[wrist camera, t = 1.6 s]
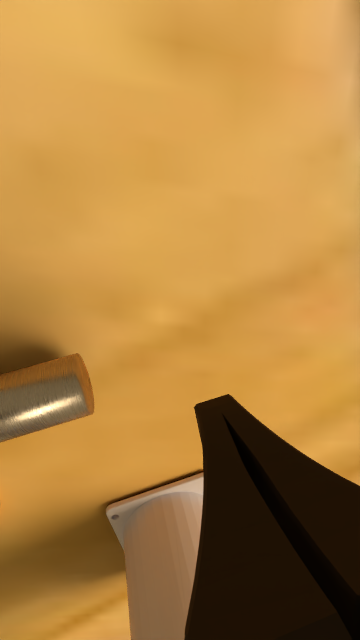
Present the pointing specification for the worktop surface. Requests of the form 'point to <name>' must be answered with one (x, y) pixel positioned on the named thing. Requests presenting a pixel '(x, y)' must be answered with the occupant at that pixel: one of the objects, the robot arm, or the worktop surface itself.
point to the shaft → (44, 396)
